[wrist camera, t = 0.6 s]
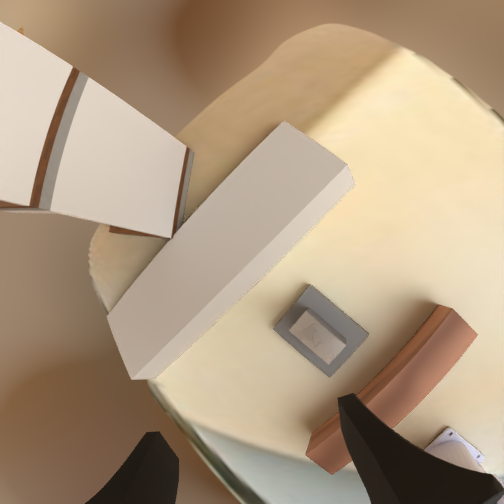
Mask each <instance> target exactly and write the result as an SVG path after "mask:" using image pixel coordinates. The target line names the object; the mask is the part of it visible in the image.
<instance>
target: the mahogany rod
mask: <svg viewBox="0 0 504 504" xmlns="http://www.w3.org/2000/svg"><path fill="white" fill-rule="evenodd" d="M477 335H478V334H477V333H476V332H475V331H474V330H473V329H472V328H471V327H470V326H469V325H468V324H467V323H466V322H465V321H464V320H463V319H462V318H461V317H460V316H459V314H458V313H457V312H456V311H455V310H454V309H452V308H449V307H445V306H442V305H438V306H437V307H436V309H435V310H434V311H433V312H432V314H431V315H430V316H429V318H428V319H427V320H426V321H425V322H424V324H423V325H422V326H421V327H420V329H419V330H418V331H417V332H416V333H415V335H414V336H413V337H412V338H411V339H410V340H409V342H408V343H407V344H406V345H405V346H404V347H403V348H402V349H401V351H400V352H399V353H398V354H397V355H396V356H395V357H394V358H393V359H392V360H391V361H390V363H389V364H388V365H387V366H386V367H385V368H384V369H383V370H382V371H381V372H380V373H379V374H378V375H377V376H376V377H375V378H374V379H373V380H372V381H371V382H370V383H369V384H368V385H367V386H366V387H365V388H364V389H363V390H362V391H361V392H360V393H359V394H358V395H356V396H357V397H358V398H359V399H360V400H361V401H362V402H363V403H364V404H365V406H366V407H367V408H368V409H369V410H371V411H372V412H373V413H374V414H375V415H376V416H377V417H378V418H379V419H380V420H381V421H383V422H384V423H385V424H386V425H387V426H389V427H390V428H391V429H392V428H393V427H394V426H395V425H396V424H398V423H399V422H400V421H401V420H402V419H403V418H404V417H405V416H406V415H407V414H408V413H409V412H410V411H412V410H413V409H414V408H415V407H416V406H417V405H418V404H419V403H420V402H421V401H422V400H423V399H424V398H425V397H426V396H427V395H428V394H429V392H430V391H431V390H432V389H433V388H434V387H435V386H436V385H437V384H438V383H439V382H440V381H441V380H442V378H443V377H444V376H445V375H446V374H447V373H448V372H449V370H450V369H451V368H452V367H453V366H454V365H455V363H456V362H457V361H458V360H459V359H460V357H461V356H462V355H463V354H464V352H465V351H466V350H467V349H468V347H469V346H470V345H471V343H472V342H473V341H474V339H475V338H476V337H477ZM305 455H306V456H307V457H309V458H310V459H311V460H313V461H314V462H315V463H316V464H318V465H319V466H320V467H322V468H323V469H324V470H326V471H327V472H329V473H330V474H331V475H333V474H334V473H335V472H337V471H338V470H340V469H341V468H343V467H344V466H345V465H347V464H348V463H350V462H351V461H352V458H351V456H350V454H349V452H348V449H347V446H346V443H345V440H344V437H343V434H342V431H341V425H340V415H339V412H338V413H337V414H335V415H334V416H333V417H332V418H331V419H330V420H328V421H327V422H326V423H325V424H324V425H322V426H321V427H320V428H319V429H318V430H316V431H315V432H314V433H313V434H312V435H311V439H310V442H309V445H308V448H307V451H306V454H305Z"/></svg>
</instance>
